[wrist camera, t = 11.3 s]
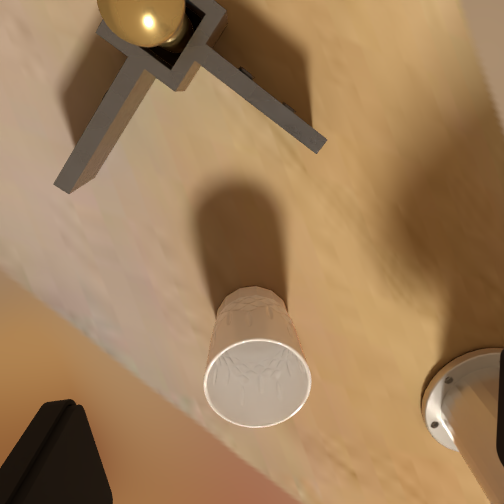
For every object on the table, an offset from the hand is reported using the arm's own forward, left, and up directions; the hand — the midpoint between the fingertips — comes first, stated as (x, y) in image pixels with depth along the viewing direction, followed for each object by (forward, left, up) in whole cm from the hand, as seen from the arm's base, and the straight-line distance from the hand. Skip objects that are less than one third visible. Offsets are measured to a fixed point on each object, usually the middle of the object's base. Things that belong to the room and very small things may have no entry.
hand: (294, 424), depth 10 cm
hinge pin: (+11, -5, -29) cm, 31 cm away
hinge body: (+6, 0, -29) cm, 29 cm away
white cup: (-8, +11, -29) cm, 32 cm away
